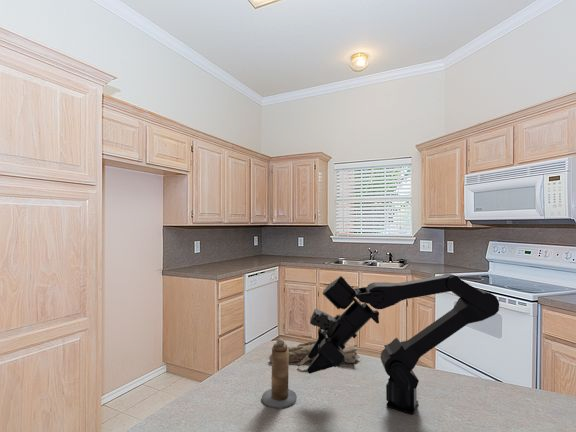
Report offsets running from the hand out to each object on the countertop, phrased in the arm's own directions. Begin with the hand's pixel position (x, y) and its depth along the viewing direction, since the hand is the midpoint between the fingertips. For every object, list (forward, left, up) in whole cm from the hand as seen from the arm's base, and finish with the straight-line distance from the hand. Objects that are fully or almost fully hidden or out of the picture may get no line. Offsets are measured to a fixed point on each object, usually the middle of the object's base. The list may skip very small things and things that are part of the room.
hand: (308, 364), depth 86 cm
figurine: (+11, -25, -10) cm, 29 cm away
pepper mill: (+7, +3, -9) cm, 11 cm away
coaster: (+7, +3, -9) cm, 12 cm away
